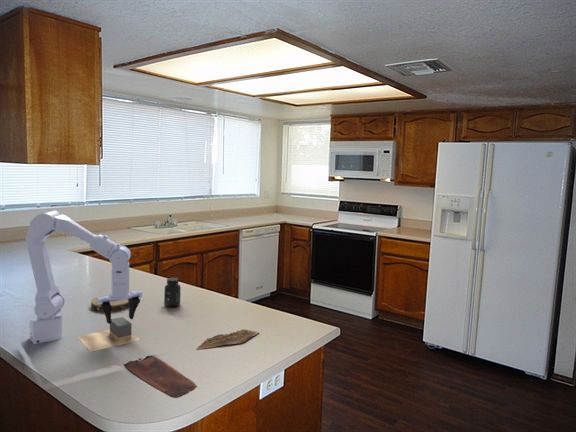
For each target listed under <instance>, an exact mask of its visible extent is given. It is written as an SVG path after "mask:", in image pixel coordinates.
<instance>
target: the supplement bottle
mask: <svg viewBox="0 0 576 432" xmlns="http://www.w3.org/2000/svg"><path fill="white" fill-rule="evenodd" d="M163 289H164V290H163V291H164V293H163V295H164V296H163V297H164V298H163V299H164V300H163V303H164V307H165V308H167V309H176V308H179V307H180V306H181V285H180V284H179V278H178V277H169V278H167V279H166V284H165V285H164V288H163Z"/></svg>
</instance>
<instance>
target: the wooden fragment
mask: <svg viewBox="0 0 576 432" xmlns="http://www.w3.org/2000/svg"><path fill="white" fill-rule="evenodd" d="M258 334H260V332H259V331H254V330H249V329H241V330H237V331H236V332H234V331H233V332H230V333H228V334H227V333H225V334H222V333H221V334H216V335H214V336H212V337H209V338H207V337H206V339H205V340H204V341H203V342H202V343H201V344H200V345H199V346H197V348H196V350H203V349H204V350H205V349H211V348H215V347H216V348H217V347H221V346H227V345H235V344H244V343H245V342H247V341H248V340H249V339H251V338H253V337H254V336H256V335H258Z"/></svg>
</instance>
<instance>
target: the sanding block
mask: <svg viewBox="0 0 576 432" xmlns="http://www.w3.org/2000/svg"><path fill="white" fill-rule="evenodd" d="M132 325H133V324H132V323H131V322H130V321H129V320H127V319H126V318H125V317H124V316H121V317H115V318H111V324H109V330H110V334H111V335H112V336H113V337H114V338H116V339H117V340H118V341H119V340H124V339H128V338H131V333H132Z"/></svg>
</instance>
